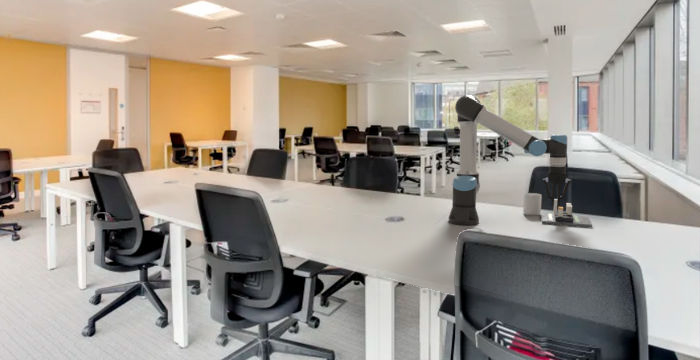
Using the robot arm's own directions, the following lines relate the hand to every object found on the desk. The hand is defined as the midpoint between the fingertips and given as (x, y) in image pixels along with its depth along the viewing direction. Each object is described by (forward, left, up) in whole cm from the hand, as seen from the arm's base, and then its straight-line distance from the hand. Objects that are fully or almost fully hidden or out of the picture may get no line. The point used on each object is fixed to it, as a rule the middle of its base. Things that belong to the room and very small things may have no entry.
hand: (555, 212), depth 210 cm
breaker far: (+7, +12, -2) cm, 14 cm away
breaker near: (+2, 0, -2) cm, 3 cm away
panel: (+5, +5, -6) cm, 9 cm away
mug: (-11, +19, -6) cm, 23 cm away
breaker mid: (+7, +6, -2) cm, 9 cm away
